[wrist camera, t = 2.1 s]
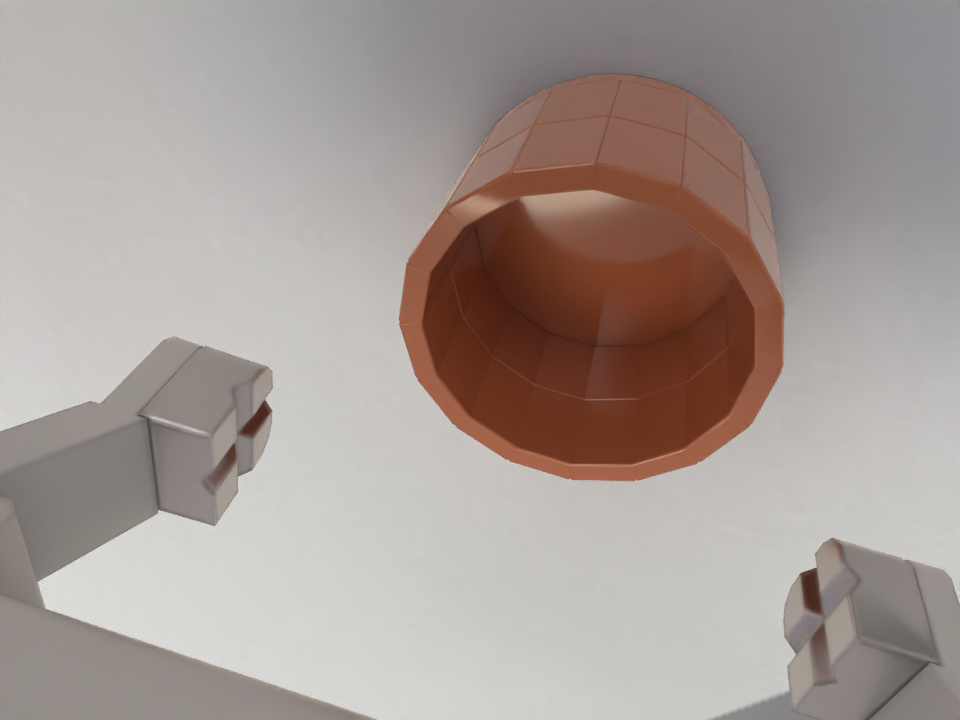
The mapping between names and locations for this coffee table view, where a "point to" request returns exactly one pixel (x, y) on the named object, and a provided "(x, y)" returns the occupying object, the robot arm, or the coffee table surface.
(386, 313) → the coffee table surface
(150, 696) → the robot arm
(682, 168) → the bowl
